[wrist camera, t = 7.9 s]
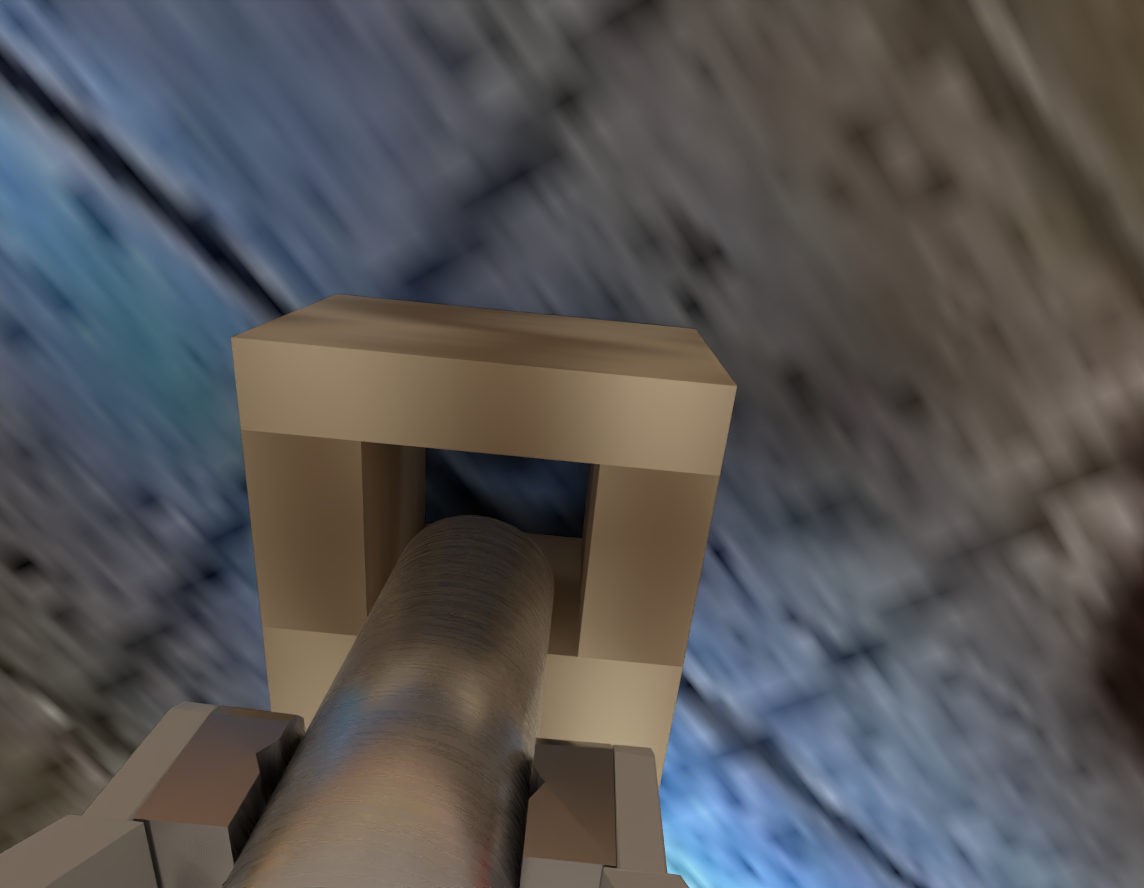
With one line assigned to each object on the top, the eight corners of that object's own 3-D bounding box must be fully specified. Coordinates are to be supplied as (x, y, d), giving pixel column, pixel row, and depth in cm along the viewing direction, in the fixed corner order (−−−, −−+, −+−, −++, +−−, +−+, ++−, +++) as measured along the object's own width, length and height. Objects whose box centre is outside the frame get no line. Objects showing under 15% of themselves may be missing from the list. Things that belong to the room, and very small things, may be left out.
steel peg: (396, 507, 12) (-401, 1768, 2) (560, 523, 12) (418, 1848, 2) (397, 641, 13) (-141, 1858, 3) (547, 656, 13) (415, 1912, 3)
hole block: (359, 809, 23) (299, 969, 18) (336, 294, 16) (230, 337, 11) (613, 833, 23) (618, 999, 18) (695, 328, 16) (736, 385, 11)
